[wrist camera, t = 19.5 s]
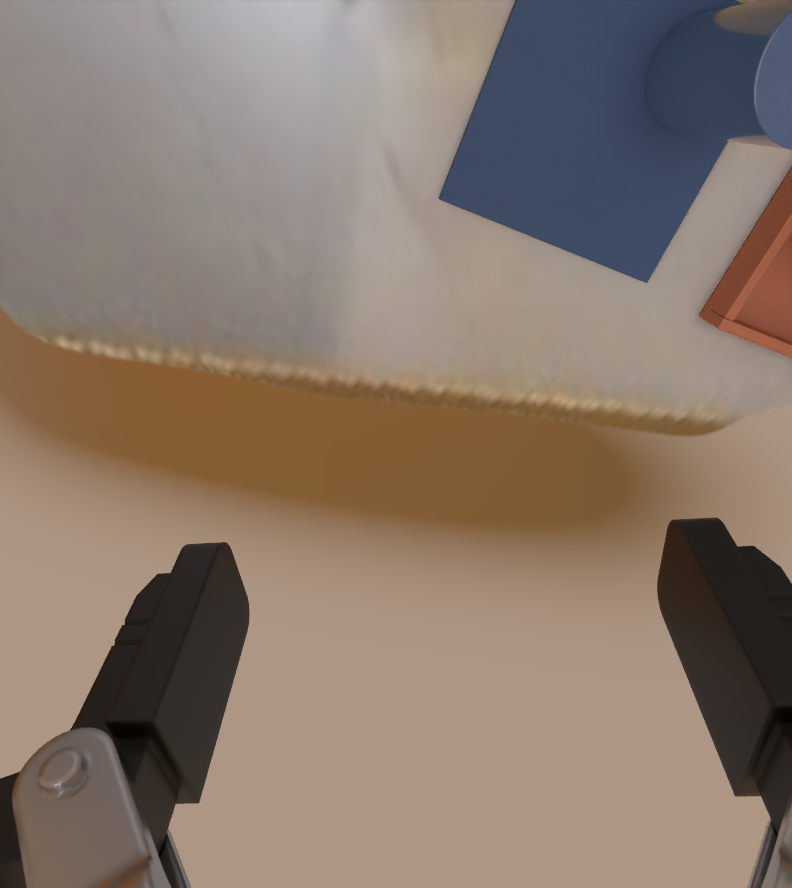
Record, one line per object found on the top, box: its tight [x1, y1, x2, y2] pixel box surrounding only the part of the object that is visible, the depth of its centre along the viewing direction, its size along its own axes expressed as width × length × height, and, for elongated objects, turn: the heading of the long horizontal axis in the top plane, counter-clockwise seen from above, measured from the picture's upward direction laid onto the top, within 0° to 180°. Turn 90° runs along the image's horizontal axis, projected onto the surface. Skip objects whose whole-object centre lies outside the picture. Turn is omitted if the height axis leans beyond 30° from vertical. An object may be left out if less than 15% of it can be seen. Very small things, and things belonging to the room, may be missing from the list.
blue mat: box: [439, 0, 741, 283], centre depth 29 cm, size 12×12×1 cm
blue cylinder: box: [645, 0, 792, 150], centre depth 25 cm, size 5×5×9 cm
